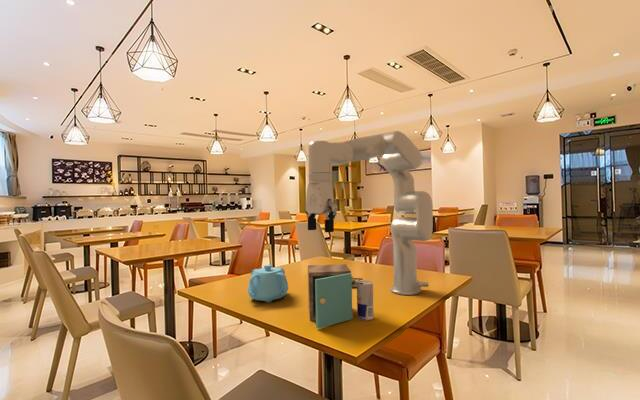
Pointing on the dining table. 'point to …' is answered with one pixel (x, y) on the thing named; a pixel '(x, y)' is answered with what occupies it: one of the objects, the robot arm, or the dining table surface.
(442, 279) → the dining table surface
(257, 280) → the decorative pot
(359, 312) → the energy drink
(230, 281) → the dining table surface
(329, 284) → the door
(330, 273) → the cabinet
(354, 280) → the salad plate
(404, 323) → the dining table surface
